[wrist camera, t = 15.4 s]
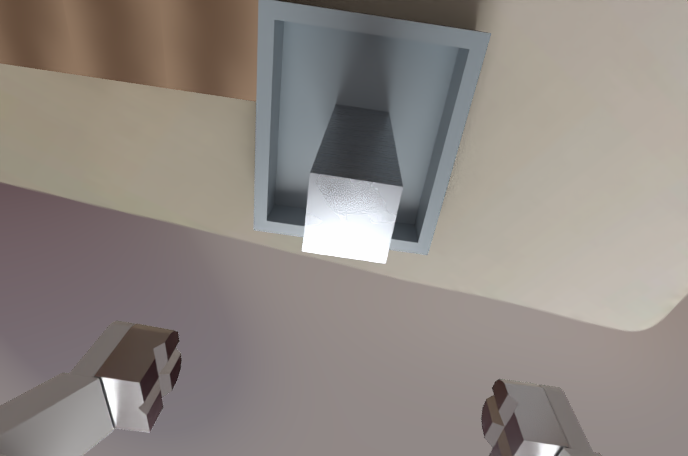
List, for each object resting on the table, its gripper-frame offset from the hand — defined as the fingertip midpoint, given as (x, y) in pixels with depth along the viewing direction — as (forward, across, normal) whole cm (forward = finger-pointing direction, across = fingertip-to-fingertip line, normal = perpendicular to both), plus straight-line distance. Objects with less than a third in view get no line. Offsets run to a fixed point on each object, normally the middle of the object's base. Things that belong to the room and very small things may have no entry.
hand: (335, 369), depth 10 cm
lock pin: (+22, 0, +1) cm, 23 cm away
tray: (+24, 0, +1) cm, 24 cm away
